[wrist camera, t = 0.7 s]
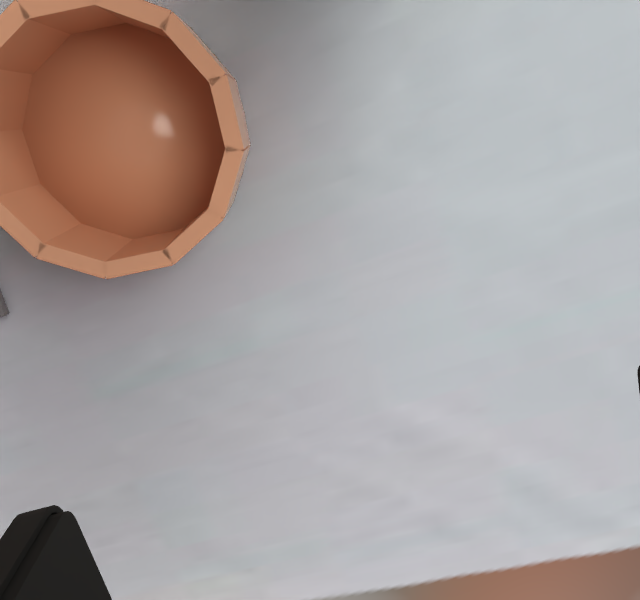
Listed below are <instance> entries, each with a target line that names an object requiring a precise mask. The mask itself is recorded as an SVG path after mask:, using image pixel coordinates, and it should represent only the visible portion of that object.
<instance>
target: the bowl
mask: <svg viewBox="0 0 640 600" xmlns="http://www.w3.org/2000/svg"><path fill="white" fill-rule="evenodd" d="M235 80H236V79H235V78H234V77H233V76H232V75H231V74H230V72H229V71H228V70H227V69H226V68H225V67H224V65H223V64H222V63H221V62H220V61H219V60H218V58H217V57H216V56H215V55H214V54H213V53H212V52H211V51H210V49H209V48H208V47H207V46H206V45H205V44H204V42H203V41H202V40H201V39H200V38H199V37H198V36H197V34H196V33H195V32H194V31H193V30H192V29H191V28H190V27H189V26H188V25H187V24H186V23H185V22H184V21H182V20H181V19H180V18H179V17H178V16H177V15H176V14H175V13H174V12H172V11H171V10H168V9H166V8H163V7H160V6H157V5H155V4H152V3H149V2H147V1H144V0H14V1H13V2H12V3H11V4H10V5H9V6H8V7H7V9H6V10H5V11H4V12H3V13H2V14H1V15H0V226H1V227H2V228H3V229H4V230H5V231H6V232H8V233H9V234H10V235H11V236H12V237H13V238H14V239H15V240H16V241H17V242H18V243H19V244H20V245H22V246H23V247H24V248H25V249H26V250H27V251H28V252H29V253H30V254H31V255H32V256H33V257H34V258H35V257H37V259H39V260H43V261H46V262H49V263H53V264H56V265H59V266H63V267H66V268H69V269H73V270H76V271H80V272H83V273H86V274H90V275H93V276H96V277H100V278H103V279H105V278H107V279H110V278H114V277H119V276H124V275H129V274H134V273H139V272H143V271H148V270H153V269H158V268H163V267H168V266H172V265H173V264H175V263H177V262H178V261H179V260H180V259H181V258H182V257H183V256H184V255H185V254H186V253H188V252H189V251H190V250H191V249H192V248H193V247H194V246H195V245H196V244H197V243H198V242H200V241H201V240H202V239H203V238H204V237H205V236H206V235H207V234H208V233H209V232H211V231H212V230H213V229H214V228H215V227H216V226H217V225H218V224H219V223H220V222H221V221H223V219H224V218H225V216H226V214H227V213H228V211H229V209H230V208H231V206H232V204H233V202H234V199H235V196H236V193H237V189H238V186H239V183H240V179H241V177H242V174H243V171H244V166H245V162H246V159H247V156H248V152H249V149H250V145H249V144H251V143H250V139H249V134H248V130H247V124H246V118H245V112H244V109H243V105H242V102H241V99H240V94H239V90H238V86H237V81H235Z"/></svg>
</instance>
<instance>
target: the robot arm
mask: <svg viewBox="0 0 640 600" xmlns="http://www.w3.org/2000/svg"><path fill="white" fill-rule="evenodd" d="M638 383H639V392H640V366H639V368H638ZM0 600H112V599H111V596H110V594H109V592H108V590H107V587H106V585H105V583H104V581H103V578H102V576H101V574H100V572H99V570H98V567H97V565H96V563H95V561H94V558H93V556H92V554H91V552H90V549H89V547H88V545H87V543H86V540H85V538H84V536H83V534H82V531H81V529H80V527H79V525H78V522H77V520H76V518H75V516H74V515H73V514H72V513H71V512H69V511H66V512H63V510H62V509H61V508H60V507H59V506H55V505H53V506H49V507H45V508H41V509H37V510H33V511H29V512H26V513H22V514H19V515H17V516H16V518H15V519H14V520H13V521H12V523H11V524H10V526H9V527H8V529H7V530H6V532H5V533H4V535H3V536H2V538H1V539H0Z"/></svg>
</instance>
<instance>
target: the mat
mask: <svg viewBox="0 0 640 600" xmlns="http://www.w3.org/2000/svg"><path fill="white" fill-rule="evenodd" d="M7 314H9V311H8V308H7V306H6V303H5V300H4V298H3V295H2V292H1V290H0V317H3V316H6V315H7Z"/></svg>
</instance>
